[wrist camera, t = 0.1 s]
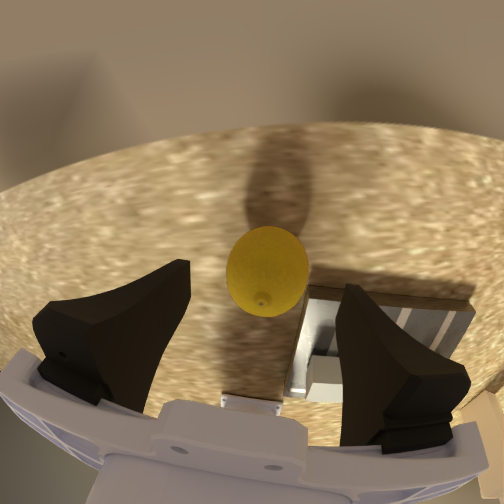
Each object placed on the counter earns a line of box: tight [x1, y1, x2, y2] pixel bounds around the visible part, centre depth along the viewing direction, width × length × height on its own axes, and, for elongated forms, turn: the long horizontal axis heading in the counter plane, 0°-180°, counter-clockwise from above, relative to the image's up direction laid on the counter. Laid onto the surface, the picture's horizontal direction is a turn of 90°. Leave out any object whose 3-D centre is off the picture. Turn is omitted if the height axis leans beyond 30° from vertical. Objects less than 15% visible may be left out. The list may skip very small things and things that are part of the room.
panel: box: [283, 285, 476, 398], centre depth 25 cm, size 14×18×2 cm
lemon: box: [226, 226, 309, 317], centre depth 19 cm, size 6×6×8 cm
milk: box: [460, 390, 504, 504], centre depth 20 cm, size 6×6×22 cm
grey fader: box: [305, 355, 343, 403], centre depth 23 cm, size 3×4×3 cm
